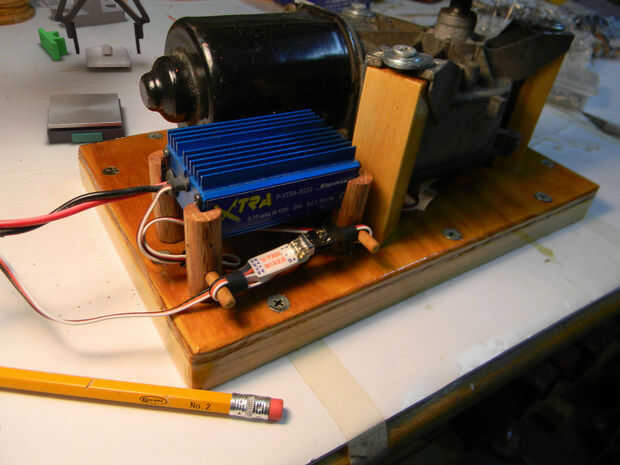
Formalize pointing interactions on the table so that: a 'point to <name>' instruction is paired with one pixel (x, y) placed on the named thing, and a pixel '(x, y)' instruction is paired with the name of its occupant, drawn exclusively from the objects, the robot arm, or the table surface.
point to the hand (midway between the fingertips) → (108, 52)
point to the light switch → (107, 57)
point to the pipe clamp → (53, 43)
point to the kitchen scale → (86, 133)
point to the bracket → (93, 13)
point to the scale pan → (84, 110)
